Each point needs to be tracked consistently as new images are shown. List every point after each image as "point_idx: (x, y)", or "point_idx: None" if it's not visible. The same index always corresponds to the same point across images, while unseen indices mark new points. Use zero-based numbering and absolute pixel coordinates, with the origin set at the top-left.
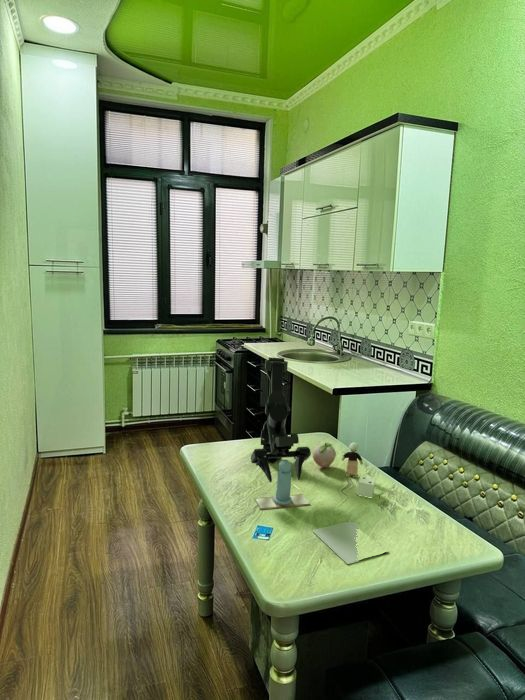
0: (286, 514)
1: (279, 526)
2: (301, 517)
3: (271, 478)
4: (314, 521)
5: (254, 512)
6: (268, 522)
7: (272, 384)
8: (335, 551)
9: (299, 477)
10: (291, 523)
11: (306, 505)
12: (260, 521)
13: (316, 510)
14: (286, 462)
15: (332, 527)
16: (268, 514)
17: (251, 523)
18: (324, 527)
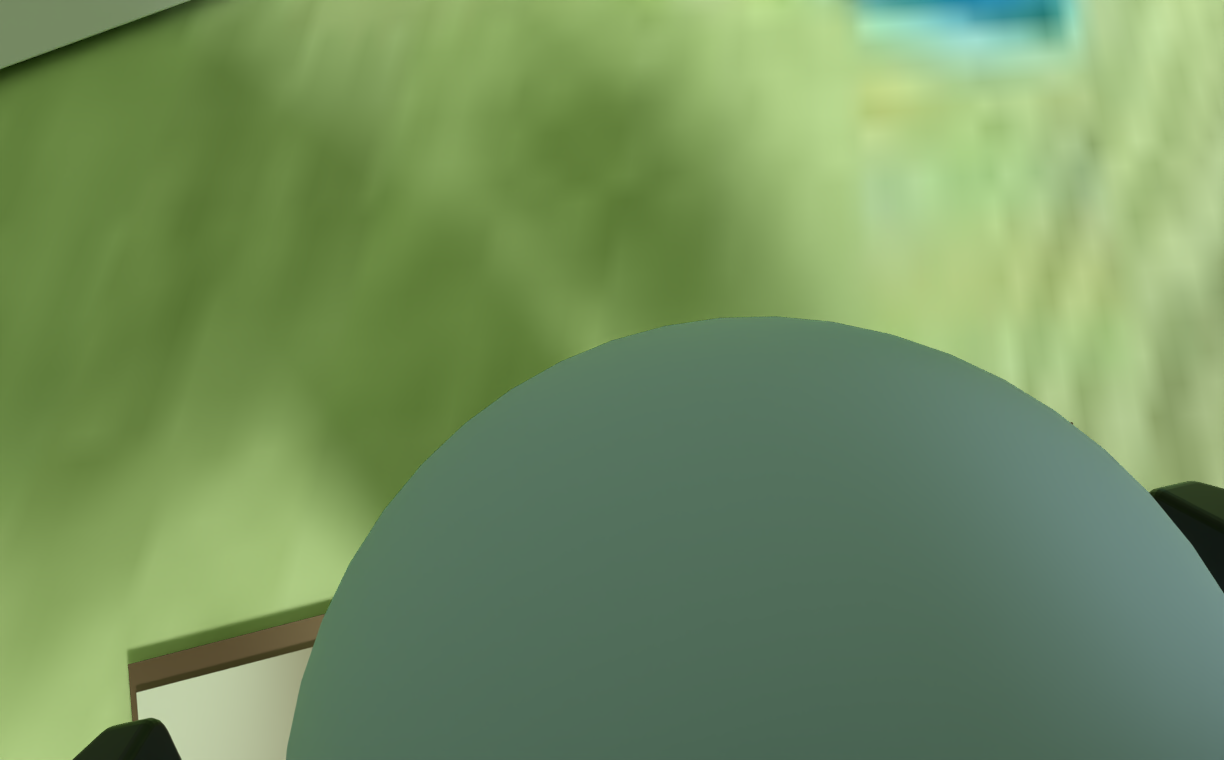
0: (628, 327)
1: (754, 28)
2: (399, 260)
3: (1212, 507)
4: (226, 173)
5: (1159, 347)
6: (910, 104)
7: None
8: None
9: (99, 755)
10: (578, 103)
11: (218, 641)
12: (1029, 119)
13: (86, 488)
14: (751, 422)
15: (21, 23)
16: (922, 306)
17: (1151, 65)
18: (134, 15)
